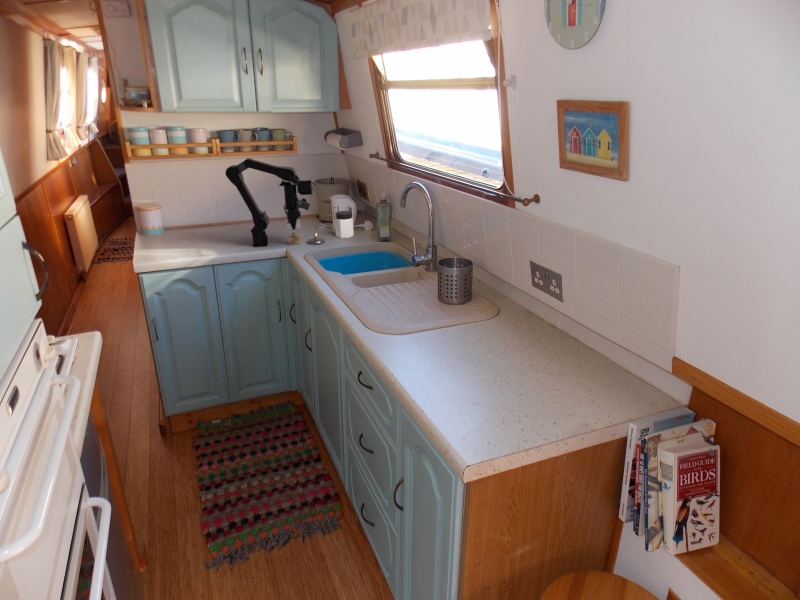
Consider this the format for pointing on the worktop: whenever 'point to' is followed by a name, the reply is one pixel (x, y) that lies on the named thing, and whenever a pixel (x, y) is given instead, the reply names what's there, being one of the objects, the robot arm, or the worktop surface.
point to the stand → (294, 239)
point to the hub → (316, 240)
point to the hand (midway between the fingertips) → (293, 227)
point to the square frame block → (288, 225)
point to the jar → (344, 224)
